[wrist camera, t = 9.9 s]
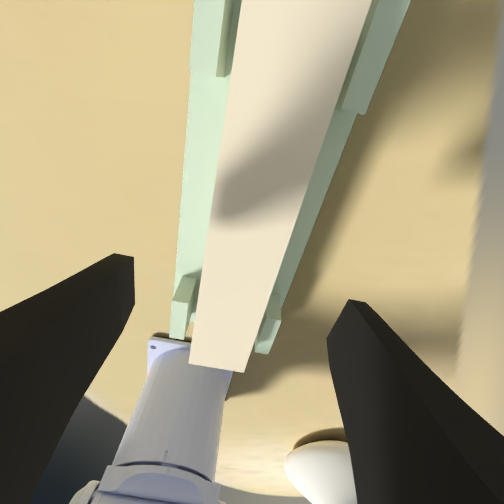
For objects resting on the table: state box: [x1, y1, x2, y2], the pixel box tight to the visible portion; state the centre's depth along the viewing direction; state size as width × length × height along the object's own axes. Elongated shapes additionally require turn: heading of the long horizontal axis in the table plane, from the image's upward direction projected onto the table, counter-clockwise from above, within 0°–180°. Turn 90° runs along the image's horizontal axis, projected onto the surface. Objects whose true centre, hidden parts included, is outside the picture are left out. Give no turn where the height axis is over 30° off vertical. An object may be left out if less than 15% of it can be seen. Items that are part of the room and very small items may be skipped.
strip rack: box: [169, 0, 411, 354], centre depth 15 cm, size 21×8×4 cm, turn 168°
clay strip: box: [188, 0, 372, 373], centre depth 14 cm, size 18×4×4 cm, turn 168°
